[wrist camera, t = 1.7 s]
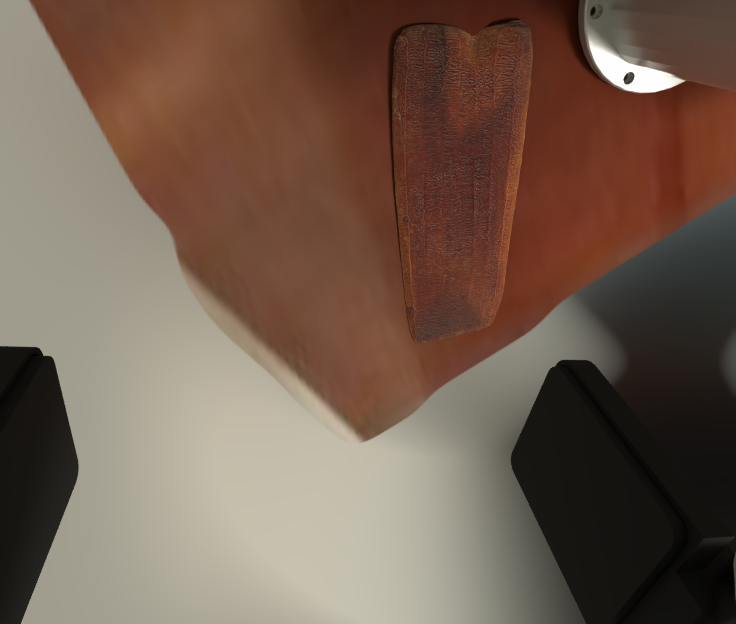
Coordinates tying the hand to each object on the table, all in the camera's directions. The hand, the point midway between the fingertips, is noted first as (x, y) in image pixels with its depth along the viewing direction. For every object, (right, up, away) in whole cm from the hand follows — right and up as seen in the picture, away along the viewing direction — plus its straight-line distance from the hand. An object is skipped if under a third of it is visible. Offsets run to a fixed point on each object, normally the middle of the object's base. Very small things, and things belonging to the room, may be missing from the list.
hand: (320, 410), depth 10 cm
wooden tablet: (+8, +11, +31) cm, 34 cm away
